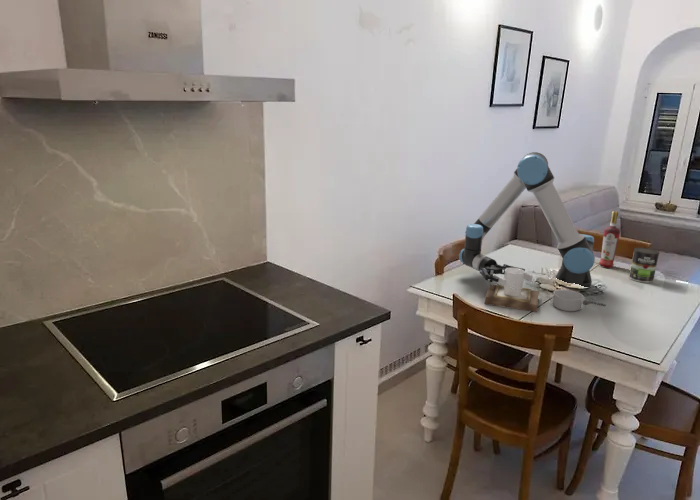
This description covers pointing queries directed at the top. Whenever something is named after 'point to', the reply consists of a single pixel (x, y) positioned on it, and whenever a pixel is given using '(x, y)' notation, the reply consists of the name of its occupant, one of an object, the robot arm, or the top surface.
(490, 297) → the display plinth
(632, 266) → the coffee can
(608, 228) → the liquor
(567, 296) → the saucepan
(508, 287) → the white cup
